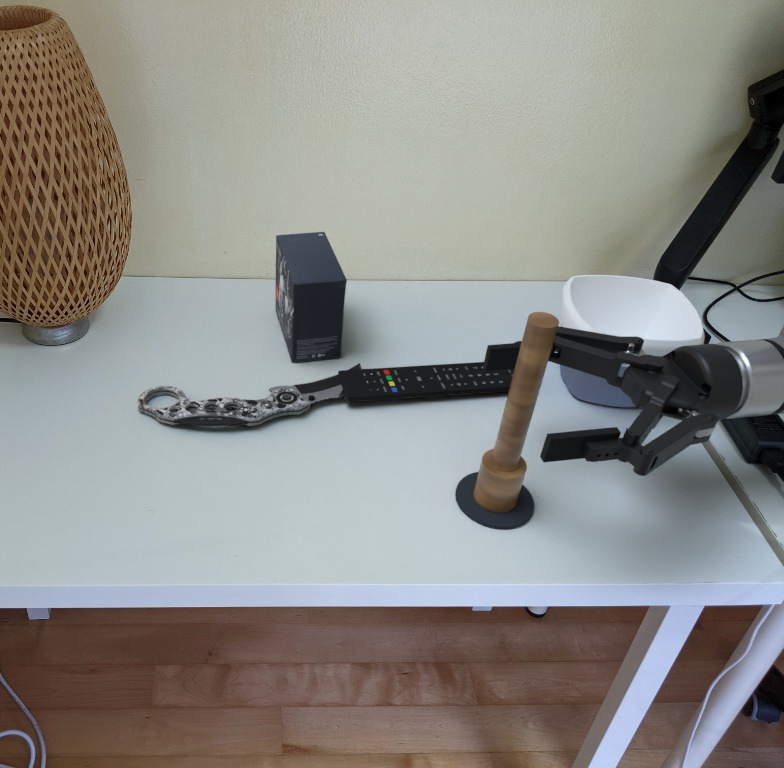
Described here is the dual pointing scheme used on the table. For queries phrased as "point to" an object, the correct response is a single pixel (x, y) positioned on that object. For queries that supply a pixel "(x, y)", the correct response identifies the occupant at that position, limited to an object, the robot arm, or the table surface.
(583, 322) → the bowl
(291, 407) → the knife
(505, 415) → the muddler
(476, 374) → the remote control
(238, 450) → the table surface
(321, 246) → the small box
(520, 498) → the coaster
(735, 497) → the table surface
